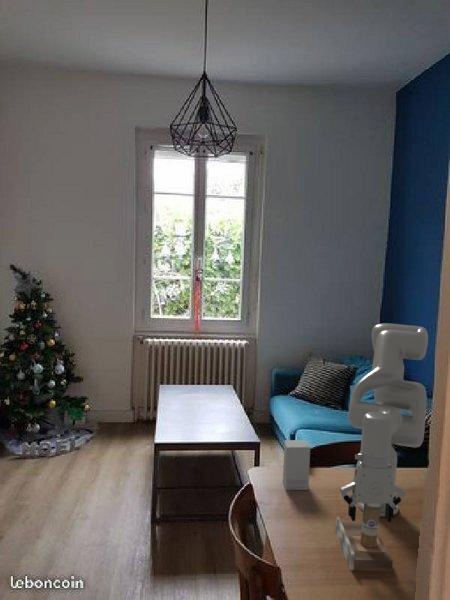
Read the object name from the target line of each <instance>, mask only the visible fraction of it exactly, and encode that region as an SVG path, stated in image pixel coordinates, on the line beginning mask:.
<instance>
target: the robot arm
mask: <svg viewBox="0 0 450 600" xmlns="http://www.w3.org/2000/svg"><path fill="white" fill-rule="evenodd" d="M371 342H372V343H371V344H372V348H373V351H374V352H373V354H374V355H373V358H372V359H373V360H372V366H371V371H370V372H368V373H367V374H365V375H364V376H363V377H362V378H360V379H359V380H358V381H357V383H355V386H354V387H353V390H352V392H351V396H350V401H349V407H348V415H347V416H348V417H347V418H348V423H349V424H350V425H351V426H352V427H353V428H356V429H361V440H360V441H361V443H360V450H359V453H355V454H354V459H355V460H357V462H356V465H355V470H354V474H353V479H352V482H351V483H348V484H346V485H344V486H341V487H339V491H340V494H341V495H342V497H343V500H344V501H345V502H346V503H347V505H348V509H347V510H348V511H347V513H348V517H350V519H351V520H352V522H356V513H357V507H359V509H360V510H362V511H363V510H364V503H380V504H381V506H380V517H379V518H381V517H383V518H385V519H386V520H387V522H388V523H392V519H393V518H394V516H395V515H397V514H398V513H399V505H398V504H400V503H401V502H402V499H403V497H404V496H405V495H406V491H404V489H403V488H401V487H398V486H397V485H396V478H397V467H398V465H397V464H398V456H397V452H396V450H395V448H394V446H392V445H398V446H404V447H410V448H419V447H421V446H422V444H423V442H424V438H425V426H426V414H427V400H428V399H427V398H428V397H427V396H428V395H427V390H426V386H424V384H422V383H421V382H417V381H411V380H410V381H409V380H404V375H405V364H404V359H405V360H414V361H415V360H416V361H421V360H423V359H424V358H425V357H426V354H427V350H428V344H429V333H428V331H427V329H426V328H425V327H423V326H418V325H407V324H400V323H390V322H389V323H388V322H387V323H386V322H385V323H378V324H376V325H374V326H373V328H372V330H371ZM371 391H373V393H374V394H373V398H374V399H373V400H374V402H368V401H362V399H363V397H364V396H365V395H366V394H368V393H369V392H371ZM401 411H404V412H408V413H409V414H405V413H404V414H402V412H401ZM351 491H352V494H351V495H350V496H349V495H348V494H347V493H348V492H351ZM395 493H396V495H395ZM356 505H357V507H356Z"/></svg>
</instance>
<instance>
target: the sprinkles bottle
mask: <svg viewBox="0 0 450 600" xmlns="http://www.w3.org/2000/svg"><path fill="white" fill-rule="evenodd" d="M380 506H381V504H380V503H364V510H362V517H361V523H362V526H361V538H360V542H361V544H362V545H364V546H366V547H371V548H373V547H375V546H376V545H377V535H378V534H379V525H380V518H381V517H380Z"/></svg>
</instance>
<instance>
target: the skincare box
mask: <svg viewBox="0 0 450 600" xmlns="http://www.w3.org/2000/svg"><path fill="white" fill-rule="evenodd" d="M283 443H284V444H283V445H284V446H283V448H284V449H283V467H282V468H283V471H282V483H283V487H284V489H285V491H309V483H310V462H311V461H310V459H311V458H310V457H311V446H310V443H309V442H308V440H307V439H305V440H303V439H302V440H301V439H299V440H298V439H296V440H295V439H293V440H292V439H287V440H286V439H284V442H283Z"/></svg>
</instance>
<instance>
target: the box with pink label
mask: <svg viewBox="0 0 450 600" xmlns="http://www.w3.org/2000/svg"><path fill="white" fill-rule="evenodd" d="M361 526H362V522H356V521H352V522H351V521H342V520H341V518H340V516H336V518H335V530H334V531H335V533H336V536H337V539H338V542H339V545H340V547H341V549H342V552H343V555H344V557H345V559H346V562H347V565H348V568H349V570H350V571H356V572H357V571H361V572H388V573H393V563H394V561H393V558H392V557H391V554H390V553H389V551H388V549H387V548H386V545H385V543H384V541H383V540H382V537H381V536H380V534H379V533H378V535H377V545H376V546H375V547H373V548H371V547H366V546H364V545H362V544H361V542H360V538H361Z"/></svg>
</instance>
